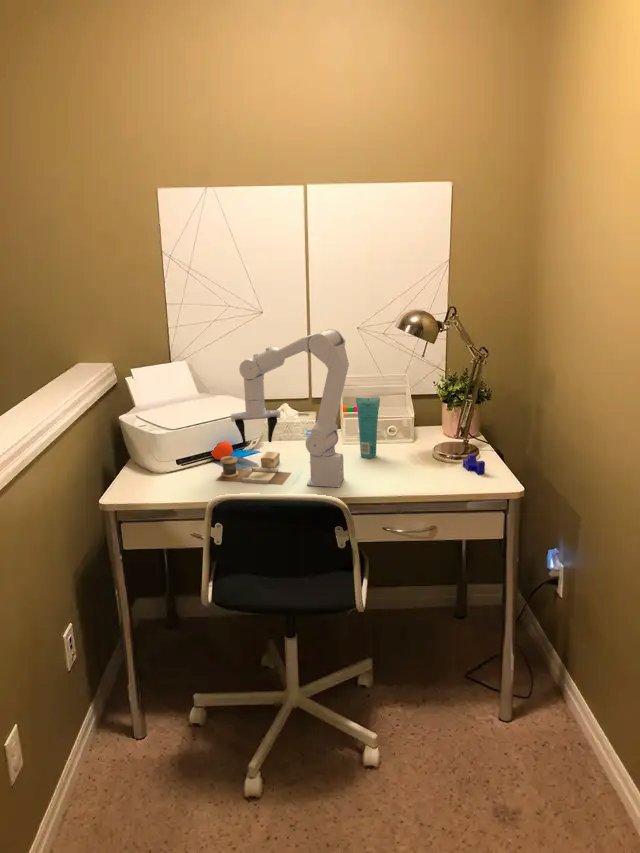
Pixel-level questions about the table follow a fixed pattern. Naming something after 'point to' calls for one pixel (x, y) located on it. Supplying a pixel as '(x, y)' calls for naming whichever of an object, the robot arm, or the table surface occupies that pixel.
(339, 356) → the robot arm
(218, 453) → the clementine
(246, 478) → the brown rectangular board
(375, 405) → the tube
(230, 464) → the spool
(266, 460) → the block
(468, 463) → the cable holder
